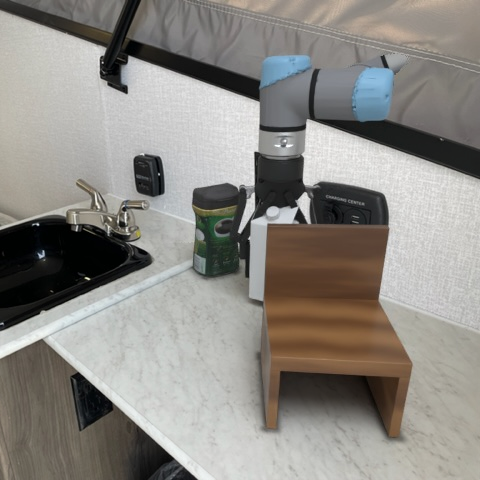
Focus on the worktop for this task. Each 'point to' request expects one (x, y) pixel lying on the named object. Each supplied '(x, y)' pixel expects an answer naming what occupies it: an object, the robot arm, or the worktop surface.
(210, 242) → the coffee jar
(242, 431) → the worktop surface
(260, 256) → the milk carton
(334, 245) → the wooden toy chair
